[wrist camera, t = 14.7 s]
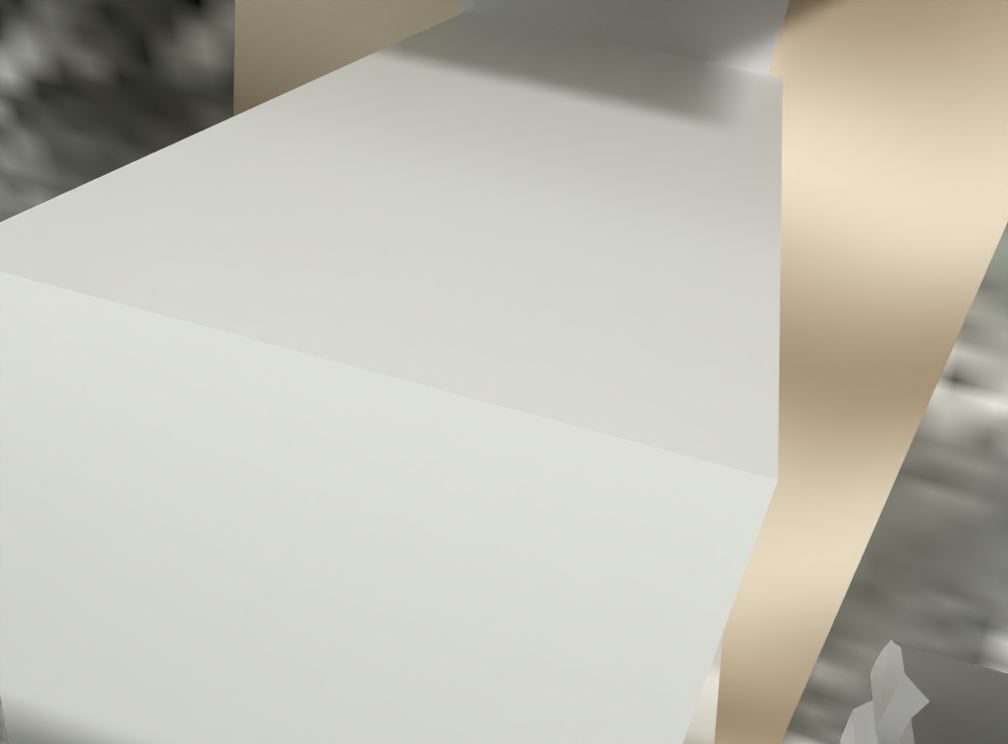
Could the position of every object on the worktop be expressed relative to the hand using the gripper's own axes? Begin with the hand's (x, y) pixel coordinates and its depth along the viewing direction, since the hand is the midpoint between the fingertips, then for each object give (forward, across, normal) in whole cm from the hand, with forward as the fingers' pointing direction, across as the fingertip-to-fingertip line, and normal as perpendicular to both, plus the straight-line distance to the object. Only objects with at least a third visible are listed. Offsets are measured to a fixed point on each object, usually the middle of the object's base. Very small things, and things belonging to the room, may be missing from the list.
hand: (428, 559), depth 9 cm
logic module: (+7, 0, 0) cm, 7 cm away
